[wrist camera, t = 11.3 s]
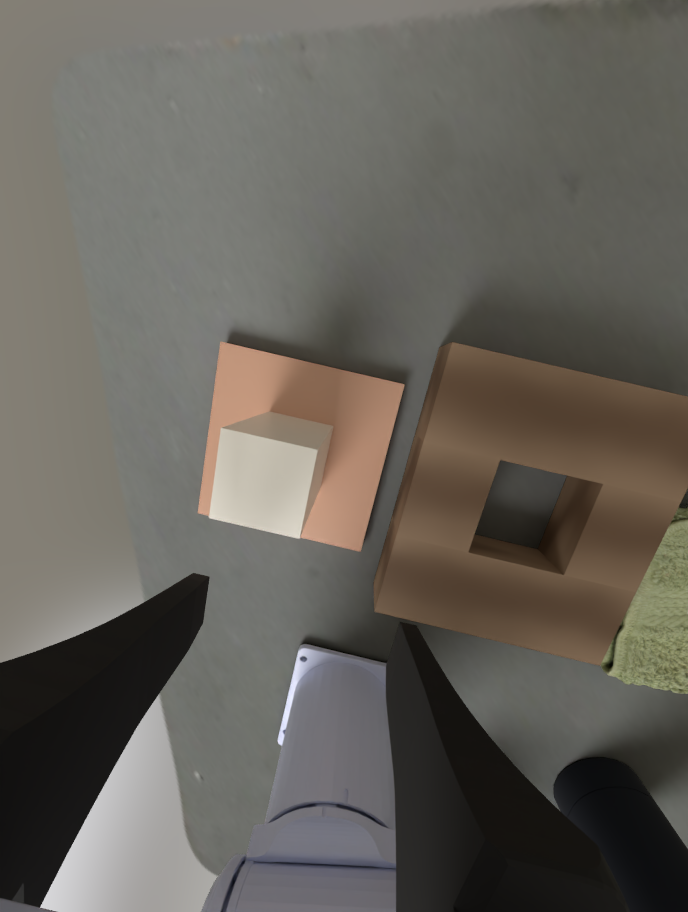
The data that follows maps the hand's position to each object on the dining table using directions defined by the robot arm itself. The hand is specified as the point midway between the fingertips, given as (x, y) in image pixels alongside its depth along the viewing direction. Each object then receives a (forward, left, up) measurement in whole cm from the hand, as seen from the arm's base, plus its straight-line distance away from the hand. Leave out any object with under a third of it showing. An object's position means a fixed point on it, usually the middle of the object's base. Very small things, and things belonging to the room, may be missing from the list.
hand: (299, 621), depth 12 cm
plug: (+4, +3, -10) cm, 11 cm away
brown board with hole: (+4, -11, -10) cm, 16 cm away
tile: (+4, +3, -10) cm, 11 cm away
